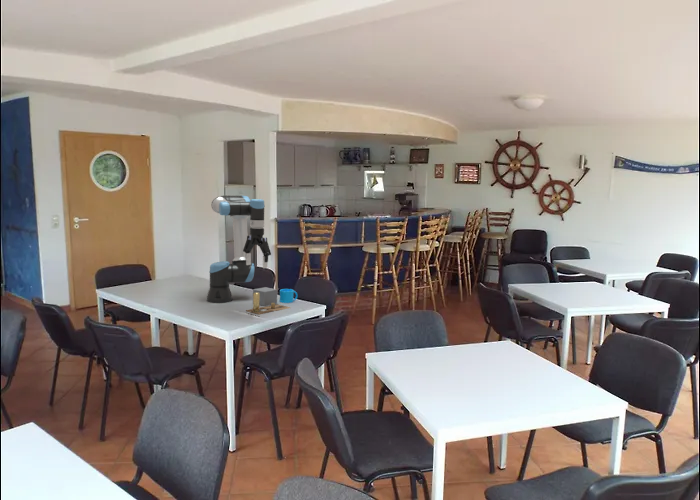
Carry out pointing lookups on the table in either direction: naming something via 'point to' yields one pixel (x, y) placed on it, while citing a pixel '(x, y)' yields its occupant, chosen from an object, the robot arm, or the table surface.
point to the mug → (287, 295)
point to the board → (276, 307)
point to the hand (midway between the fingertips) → (256, 266)
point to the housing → (267, 296)
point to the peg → (256, 301)
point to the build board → (260, 311)
